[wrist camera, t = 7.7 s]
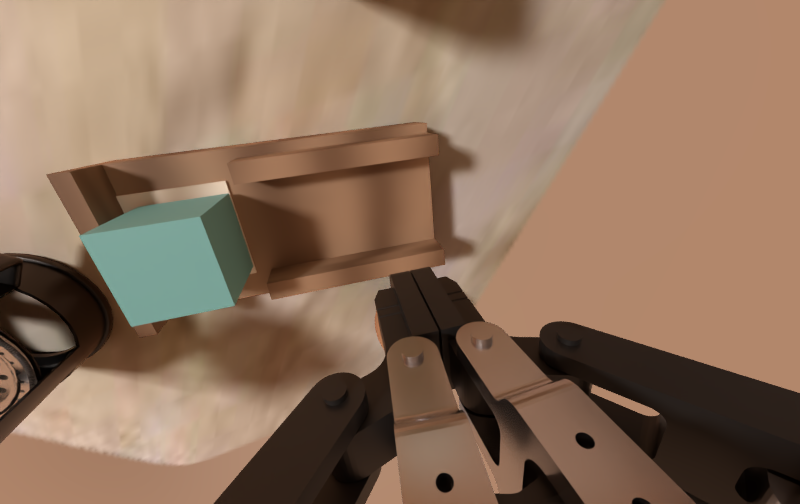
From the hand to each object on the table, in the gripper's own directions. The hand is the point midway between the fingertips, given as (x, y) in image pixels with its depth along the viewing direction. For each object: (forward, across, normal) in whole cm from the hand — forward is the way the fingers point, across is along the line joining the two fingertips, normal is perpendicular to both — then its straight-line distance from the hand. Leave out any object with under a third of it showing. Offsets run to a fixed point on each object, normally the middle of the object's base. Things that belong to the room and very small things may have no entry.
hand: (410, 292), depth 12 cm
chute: (+14, +6, 0) cm, 15 cm away
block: (+11, +11, 0) cm, 15 cm away
